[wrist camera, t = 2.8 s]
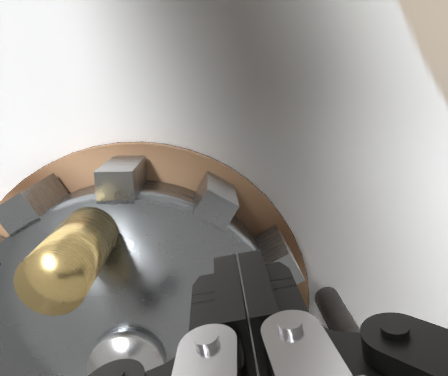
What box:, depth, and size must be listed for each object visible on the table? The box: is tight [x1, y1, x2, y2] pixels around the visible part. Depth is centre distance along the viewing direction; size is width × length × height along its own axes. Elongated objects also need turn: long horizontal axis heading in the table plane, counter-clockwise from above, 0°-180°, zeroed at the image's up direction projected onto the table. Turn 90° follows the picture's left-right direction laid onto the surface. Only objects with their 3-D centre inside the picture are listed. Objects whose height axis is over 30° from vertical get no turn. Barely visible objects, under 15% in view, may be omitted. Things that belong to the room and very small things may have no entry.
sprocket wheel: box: [0, 155, 305, 376], centre depth 20 cm, size 21×21×9 cm
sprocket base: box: [0, 142, 360, 333], centre depth 21 cm, size 22×25×11 cm
